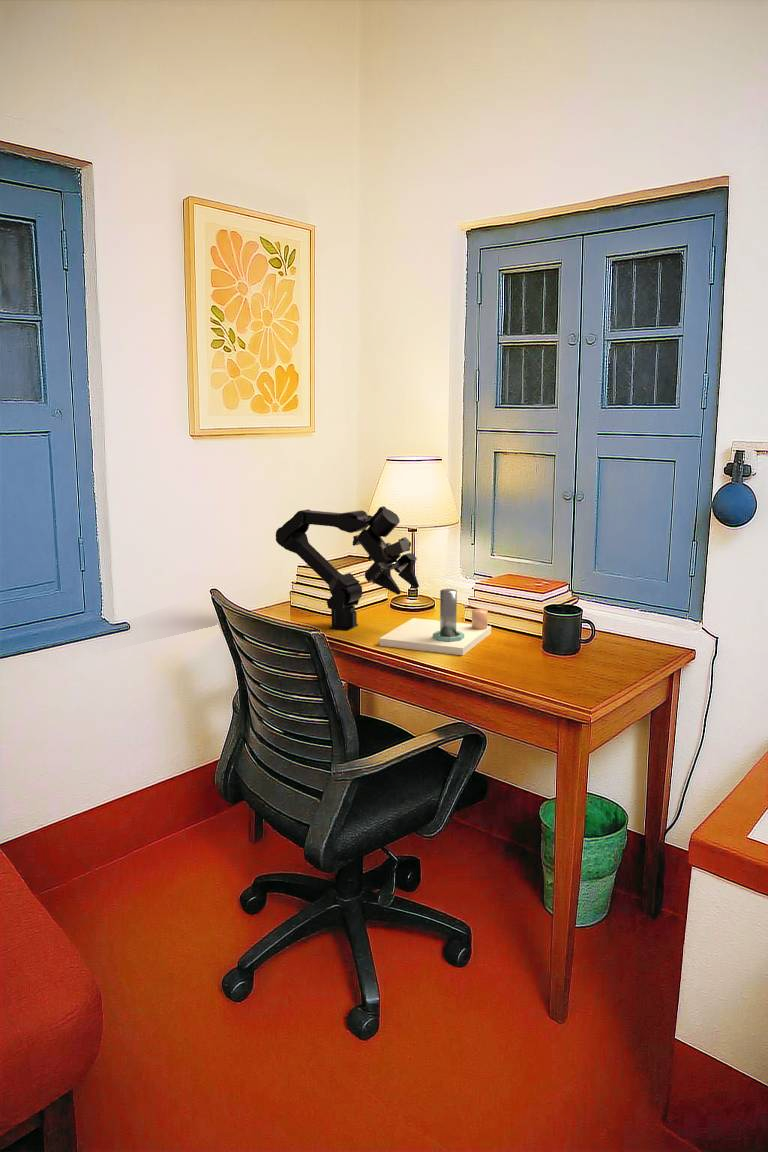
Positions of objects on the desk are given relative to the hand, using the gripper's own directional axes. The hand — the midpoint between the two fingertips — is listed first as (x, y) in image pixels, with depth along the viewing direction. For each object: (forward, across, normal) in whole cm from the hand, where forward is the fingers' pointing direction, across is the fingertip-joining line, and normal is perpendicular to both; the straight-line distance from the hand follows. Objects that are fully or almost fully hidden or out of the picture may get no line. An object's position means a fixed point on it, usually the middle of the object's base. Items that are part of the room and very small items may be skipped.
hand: (408, 590), depth 243 cm
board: (+15, +3, +4) cm, 16 cm away
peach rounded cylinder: (+19, +14, -2) cm, 23 cm away
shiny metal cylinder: (+17, 0, -1) cm, 17 cm away
